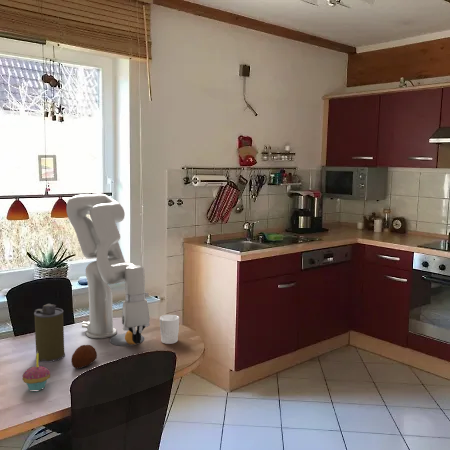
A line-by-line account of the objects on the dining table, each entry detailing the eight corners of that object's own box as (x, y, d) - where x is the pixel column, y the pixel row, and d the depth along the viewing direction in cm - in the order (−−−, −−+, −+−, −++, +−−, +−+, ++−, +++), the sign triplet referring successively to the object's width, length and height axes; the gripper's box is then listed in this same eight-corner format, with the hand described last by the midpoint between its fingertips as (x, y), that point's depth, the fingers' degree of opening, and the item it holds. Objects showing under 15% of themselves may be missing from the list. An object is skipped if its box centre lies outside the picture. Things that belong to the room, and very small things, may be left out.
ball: (125, 341, 198) (119, 335, 203) (134, 349, 201) (129, 343, 206) (136, 330, 199) (130, 324, 204) (145, 338, 202) (139, 332, 207)
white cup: (180, 337, 210) (180, 314, 209) (177, 345, 202) (177, 321, 201) (162, 337, 211) (162, 314, 209) (157, 344, 203) (157, 320, 202)
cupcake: (27, 382, 168) (26, 348, 166) (53, 382, 169) (52, 347, 167) (19, 395, 160) (17, 359, 158) (47, 394, 160) (45, 358, 159)
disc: (103, 344, 202) (103, 343, 202) (119, 332, 216) (119, 331, 216) (135, 347, 199) (135, 347, 199) (149, 335, 212) (149, 335, 212)
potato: (102, 360, 186) (102, 340, 185) (86, 373, 175) (85, 352, 174) (84, 358, 188) (84, 337, 187) (66, 370, 177) (66, 349, 176)
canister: (70, 353, 193) (69, 302, 190) (53, 363, 183) (51, 310, 180) (47, 349, 197) (45, 299, 194) (28, 359, 187) (26, 307, 184)
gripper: (149, 292, 203) (150, 336, 206) (113, 297, 196) (115, 343, 198) (156, 296, 197) (158, 341, 199) (120, 302, 189) (121, 349, 192)
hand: (136, 342), depth 199 cm, fingers closed
